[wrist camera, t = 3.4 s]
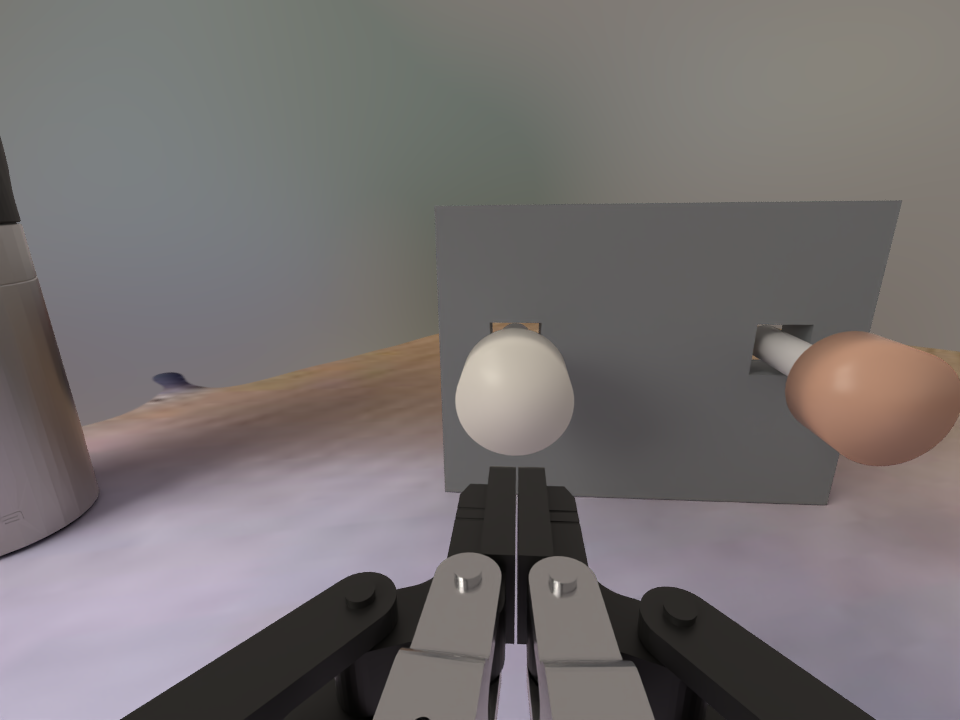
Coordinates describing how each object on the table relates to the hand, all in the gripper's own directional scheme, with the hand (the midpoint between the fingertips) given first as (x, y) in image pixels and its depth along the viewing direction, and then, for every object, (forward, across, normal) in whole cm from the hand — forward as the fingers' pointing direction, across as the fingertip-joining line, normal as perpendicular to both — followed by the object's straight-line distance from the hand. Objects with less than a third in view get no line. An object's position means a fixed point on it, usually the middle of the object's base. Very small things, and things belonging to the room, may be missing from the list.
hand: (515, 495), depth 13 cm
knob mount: (+20, -7, +10) cm, 24 cm away
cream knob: (+12, 0, +3) cm, 13 cm away
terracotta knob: (+12, -15, +3) cm, 20 cm away
